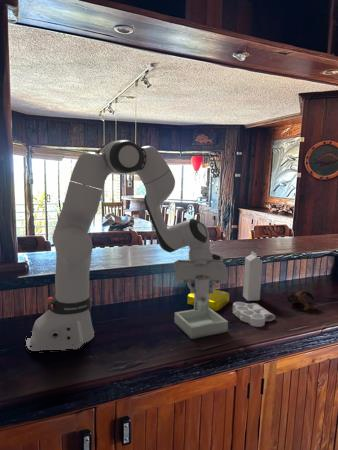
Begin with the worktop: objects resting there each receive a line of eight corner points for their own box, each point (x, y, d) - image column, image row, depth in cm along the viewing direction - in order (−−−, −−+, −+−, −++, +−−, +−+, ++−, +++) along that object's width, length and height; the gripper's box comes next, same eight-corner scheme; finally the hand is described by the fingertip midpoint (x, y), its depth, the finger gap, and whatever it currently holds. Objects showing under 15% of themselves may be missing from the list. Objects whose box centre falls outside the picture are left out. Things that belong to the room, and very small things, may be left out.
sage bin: (191, 338, 116) (191, 328, 116) (174, 322, 129) (174, 312, 128) (227, 331, 122) (228, 321, 122) (207, 316, 135) (208, 307, 134)
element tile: (185, 304, 148) (186, 294, 147) (201, 294, 161) (201, 285, 160) (216, 312, 140) (217, 301, 139) (230, 301, 153) (231, 291, 152)
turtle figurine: (304, 302, 154) (313, 290, 149) (310, 319, 146) (320, 307, 142) (280, 296, 153) (289, 284, 148) (285, 312, 145) (294, 300, 140)
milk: (254, 295, 160) (257, 250, 156) (259, 300, 154) (263, 253, 151) (242, 296, 159) (245, 250, 156) (247, 300, 153) (250, 254, 150)
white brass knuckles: (280, 324, 130) (247, 329, 125) (254, 307, 147) (224, 310, 142) (280, 316, 130) (248, 321, 125) (254, 299, 147) (224, 303, 142)
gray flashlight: (198, 312, 121) (199, 278, 119) (191, 306, 126) (192, 274, 124) (211, 310, 123) (212, 277, 121) (204, 304, 128) (205, 272, 126)
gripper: (174, 255, 128) (174, 288, 120) (226, 256, 129) (230, 289, 121) (173, 263, 134) (173, 296, 125) (224, 264, 134) (227, 296, 126)
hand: (202, 293), depth 123 cm, fingers closed on gray flashlight, 5 cm apart
